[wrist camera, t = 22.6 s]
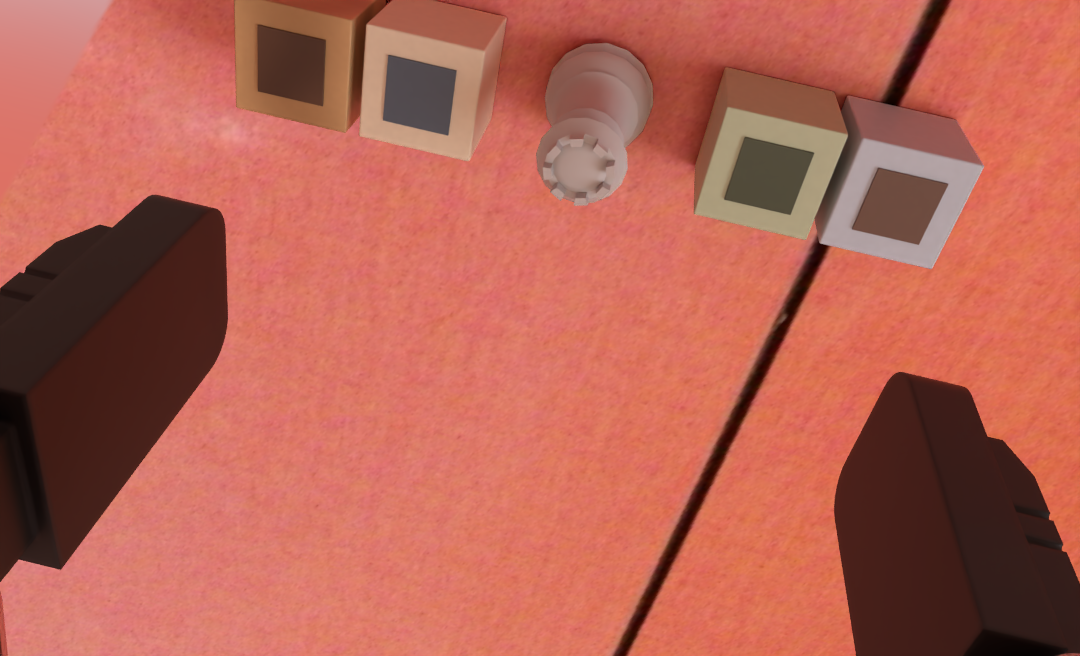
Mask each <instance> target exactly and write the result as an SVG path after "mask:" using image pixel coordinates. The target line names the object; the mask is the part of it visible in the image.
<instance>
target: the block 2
mask: <svg viewBox="0 0 1080 656" xmlns="http://www.w3.org/2000/svg"><path fill="white" fill-rule="evenodd" d="M506 21H507V18H506V17H505V16H500V15H496V14H492V13H487V12H483V11H478V10H474V9H470V8H465V7H461V6H457V5H452V4H448V3H444V2H439V1H435V0H392V1H391V2H390V3H388V4H387V5H386V6H385V7H384V8H383V9H382V10H381V11H380V12H379V13H378V14H377V15H376V16H375V17H374V18H372V19H371V20H370V21H369V22H368V23H367V25H366V36H365V51H364V66H363V81H362V96H361V112H360V127H359V136H361V137H366V138H370V139H374V140H378V141H383V142H387V143H391V144H396V145H400V146H404V147H409V148H413V149H417V150H421V151H426V152H430V153H434V154H439V155H443V156H447V157H451V158H456V159H460V160H464V161H469V160H470V159H471V157H472V155H473V153H474V151H475V149H476V147H477V145H478V143H479V141H480V140H481V138H482V136H483V134H484V132H485V130H486V128H487V126H488V124H489V122H490V120H491V118H492V111H493V105H494V98H495V92H496V86H497V79H498V73H499V66H500V60H501V54H502V47H503V41H504V34H505V28H506Z"/></svg>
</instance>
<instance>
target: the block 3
mask: <svg viewBox="0 0 1080 656" xmlns="http://www.w3.org/2000/svg"><path fill="white" fill-rule="evenodd" d="M847 137H848V132H847V129H846V126H845V123H844V120H843V117H842V114H841V111H840V108H839V105H838V102H837V99H836V96H835V93H834V92H833V91H829V90H824V89H820V88H816V87H811V86H807V85H803V84H798V83H794V82H790V81H785V80H781V79H776V78H772V77H768V76H763V75H759V74H755V73H750V72H746V71H742V70H737V69H733V68H728V67H725V69H724V72H723V76H722V79H721V82H720V85H719V89H718V92H717V95H716V99H715V102H714V105H713V108H712V112H711V115H710V118H709V122H708V125H707V128H706V131H705V135H704V138H703V141H702V144H701V148H700V151H699V154H698V158H697V161H696V164H695V182H694V214H696V215H700V216H704V217H709V218H713V219H717V220H722V221H726V222H730V223H734V224H739V225H743V226H747V227H752V228H756V229H760V230H765V231H769V232H773V233H777V234H782V235H786V236H790V237H795V238H799V239H803V240H806V239H807V236H808V234H809V231H810V229H811V226H812V224H813V221H814V219H815V216H816V214H817V211H818V209H819V206H820V204H821V201H822V199H823V196H824V194H825V192H826V189H827V187H828V184H829V182H830V179H831V177H832V174H833V172H834V169H835V167H836V164H837V162H838V159H839V157H840V154H841V152H842V149H843V147H844V145H845V142H846V140H847Z"/></svg>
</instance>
